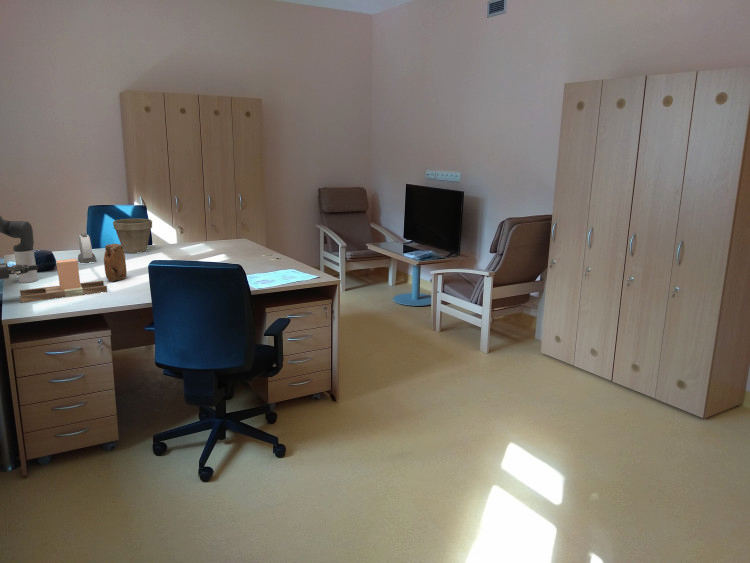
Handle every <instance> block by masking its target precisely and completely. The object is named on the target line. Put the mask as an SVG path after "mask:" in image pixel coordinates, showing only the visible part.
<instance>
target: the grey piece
mask: <svg viewBox="0 0 750 563" xmlns="http://www.w3.org/2000/svg"><path fill="white" fill-rule="evenodd" d="M91 242H92V241H91V238H90V235H89V234H87V233H80V235H78V246H79V251H80V252H79V254H78V255H77V256H78V257H77V262H80V263H89V262H96V263H97V258H96V256H95V254H94V253H93V248H92V243H91Z"/></svg>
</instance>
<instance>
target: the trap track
mask: <svg viewBox="0 0 750 563" xmlns="http://www.w3.org/2000/svg"><path fill="white" fill-rule="evenodd" d="M80 285H81V288H74V289H66V290H61V289H60V285H54V286H53V285H52V286H44V287H36V288H29V289H21V290H20V289H19V294H20V296H19V298H20V303H21V304H23V302H24V303H30V302H32V303H33V302H38V301H48V300H54V299H55V298H56V299H63V298H71V297H78V296H85V294H87V295H93V294H94V293H95V294H100V293H101V292H103V293H108V288H107V287H108V286H107V285H105V282H104V280H97V281H96V280H95V281H87V282H80ZM62 297H63V298H62ZM56 299H55V300H56Z"/></svg>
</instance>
